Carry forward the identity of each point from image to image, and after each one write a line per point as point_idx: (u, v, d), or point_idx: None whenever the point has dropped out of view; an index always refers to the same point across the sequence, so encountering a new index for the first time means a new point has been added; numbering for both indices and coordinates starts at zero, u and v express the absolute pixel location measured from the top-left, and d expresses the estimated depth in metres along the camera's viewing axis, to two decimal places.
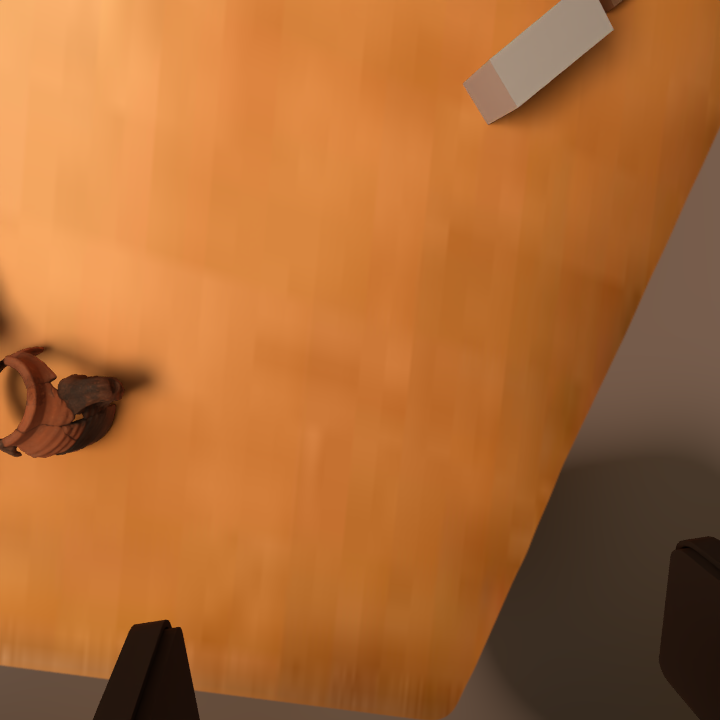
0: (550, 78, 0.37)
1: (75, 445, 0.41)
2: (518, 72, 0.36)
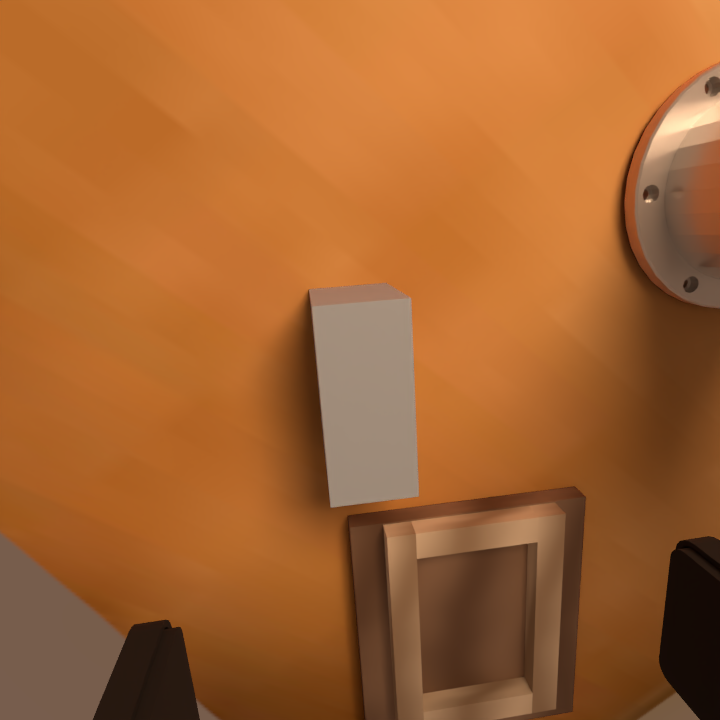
0: (322, 382, 0.20)
1: None
2: (364, 335, 0.20)
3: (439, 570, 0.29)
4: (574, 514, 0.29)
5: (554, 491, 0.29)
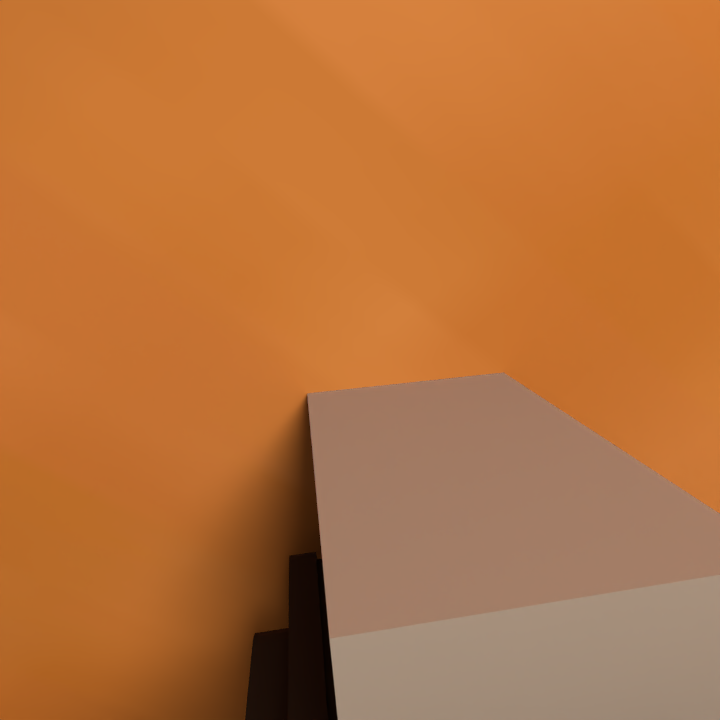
0: None
1: None
2: None
3: None
4: None
5: None
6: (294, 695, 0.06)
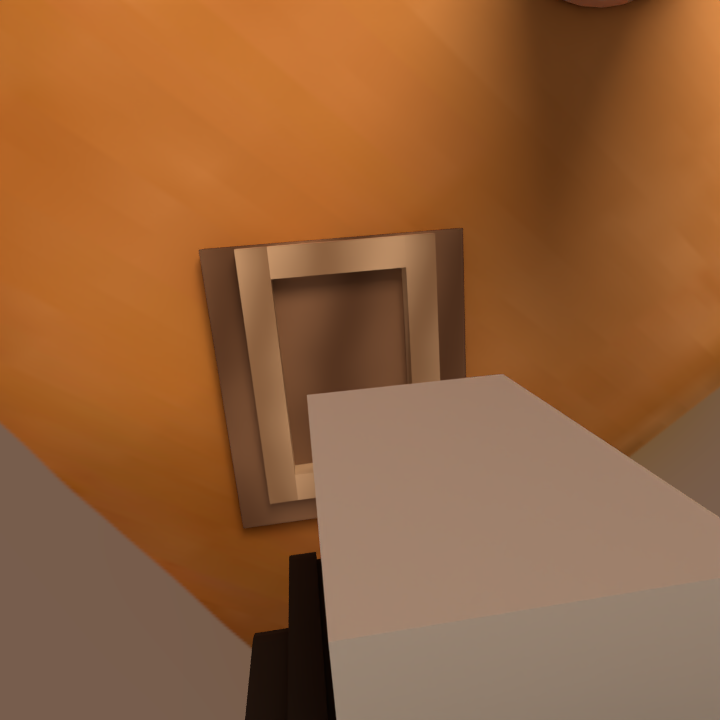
0: None
1: None
2: None
3: (305, 310, 0.26)
4: (452, 249, 0.27)
5: (432, 230, 0.27)
6: (294, 695, 0.06)
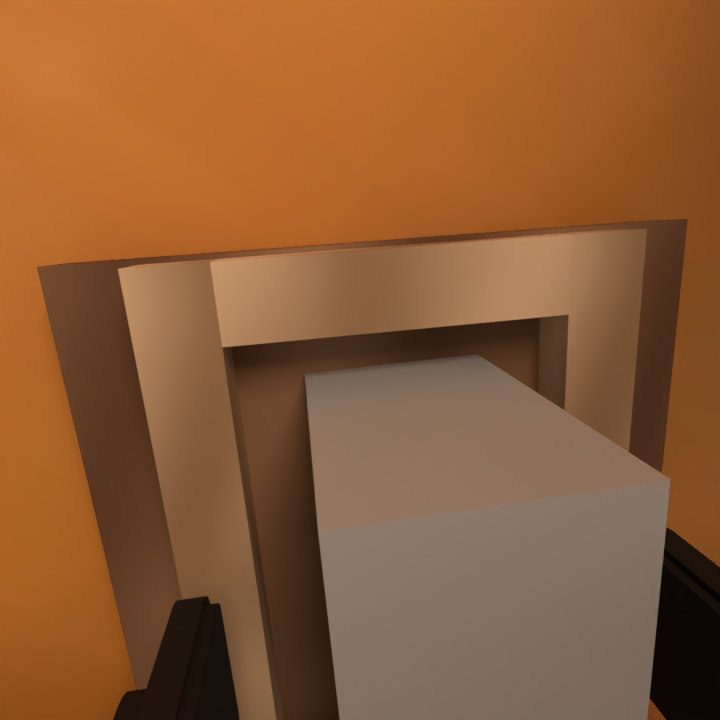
0: None
1: None
2: (502, 607, 0.06)
3: None
4: (657, 269, 0.11)
5: (603, 224, 0.12)
6: None
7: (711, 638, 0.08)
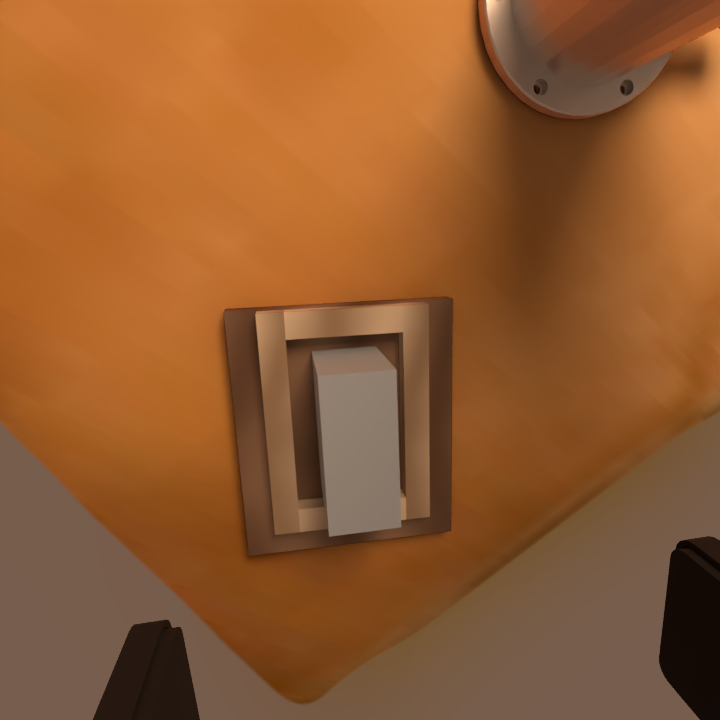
0: (324, 435, 0.25)
1: None
2: (358, 398, 0.25)
3: None
4: (442, 316, 0.31)
5: (426, 298, 0.31)
6: None
7: None
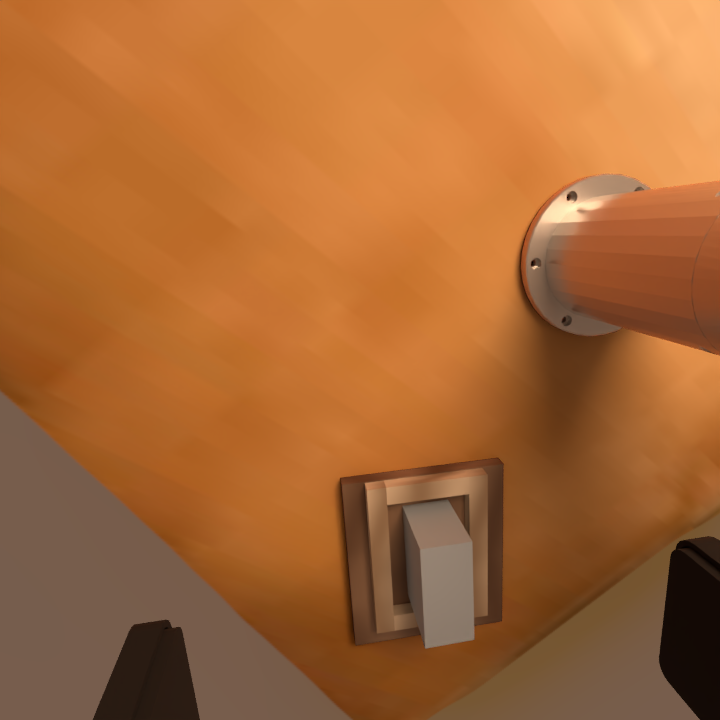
0: (424, 585, 0.37)
1: None
2: (447, 561, 0.36)
3: None
4: (496, 476, 0.42)
5: (483, 460, 0.43)
6: None
7: None
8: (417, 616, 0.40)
